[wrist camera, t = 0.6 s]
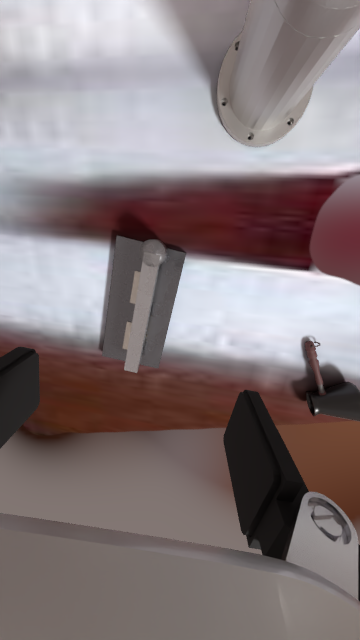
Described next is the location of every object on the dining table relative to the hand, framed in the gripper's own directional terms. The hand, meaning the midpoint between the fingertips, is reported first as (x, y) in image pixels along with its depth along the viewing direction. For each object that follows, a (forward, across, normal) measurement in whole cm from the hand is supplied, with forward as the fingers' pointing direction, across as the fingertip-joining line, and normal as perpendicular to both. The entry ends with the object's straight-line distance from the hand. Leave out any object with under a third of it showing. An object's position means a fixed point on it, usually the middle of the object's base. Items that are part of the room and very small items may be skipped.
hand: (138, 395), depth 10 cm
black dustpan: (+32, -35, +12) cm, 49 cm away
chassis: (+31, +5, +6) cm, 32 cm away
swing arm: (+30, +4, +5) cm, 30 cm away
